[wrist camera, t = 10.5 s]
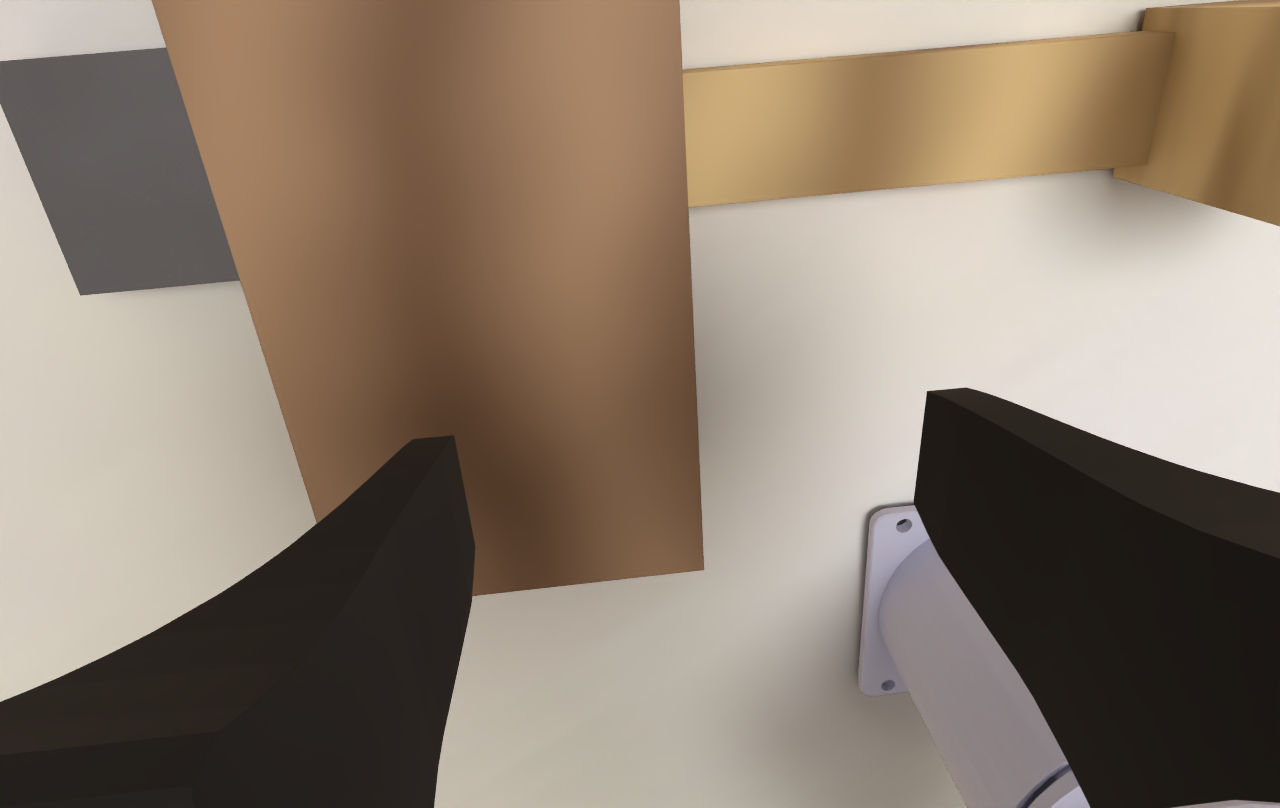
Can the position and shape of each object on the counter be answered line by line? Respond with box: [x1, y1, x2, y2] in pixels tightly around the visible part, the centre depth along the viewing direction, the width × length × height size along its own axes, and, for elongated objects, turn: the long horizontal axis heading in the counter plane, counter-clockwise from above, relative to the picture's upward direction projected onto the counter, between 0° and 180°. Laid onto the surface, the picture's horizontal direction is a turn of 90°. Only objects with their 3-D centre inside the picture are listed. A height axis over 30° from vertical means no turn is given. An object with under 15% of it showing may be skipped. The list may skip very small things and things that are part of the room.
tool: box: [682, 0, 1280, 226], centre depth 16 cm, size 17×4×7 cm, turn 94°
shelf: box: [152, 0, 704, 596], centre depth 17 cm, size 9×20×4 cm, turn 4°
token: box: [0, 48, 240, 295], centre depth 18 cm, size 5×5×2 cm
